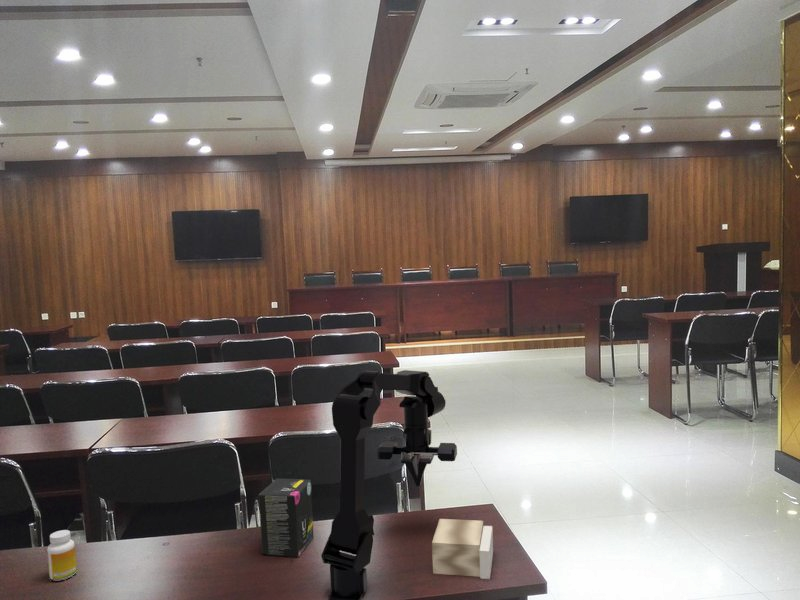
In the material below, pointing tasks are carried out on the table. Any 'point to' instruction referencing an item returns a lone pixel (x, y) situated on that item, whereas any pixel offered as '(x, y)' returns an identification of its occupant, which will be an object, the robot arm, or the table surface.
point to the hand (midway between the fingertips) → (418, 485)
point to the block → (457, 547)
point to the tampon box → (286, 517)
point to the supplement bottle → (61, 555)
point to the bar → (486, 552)
